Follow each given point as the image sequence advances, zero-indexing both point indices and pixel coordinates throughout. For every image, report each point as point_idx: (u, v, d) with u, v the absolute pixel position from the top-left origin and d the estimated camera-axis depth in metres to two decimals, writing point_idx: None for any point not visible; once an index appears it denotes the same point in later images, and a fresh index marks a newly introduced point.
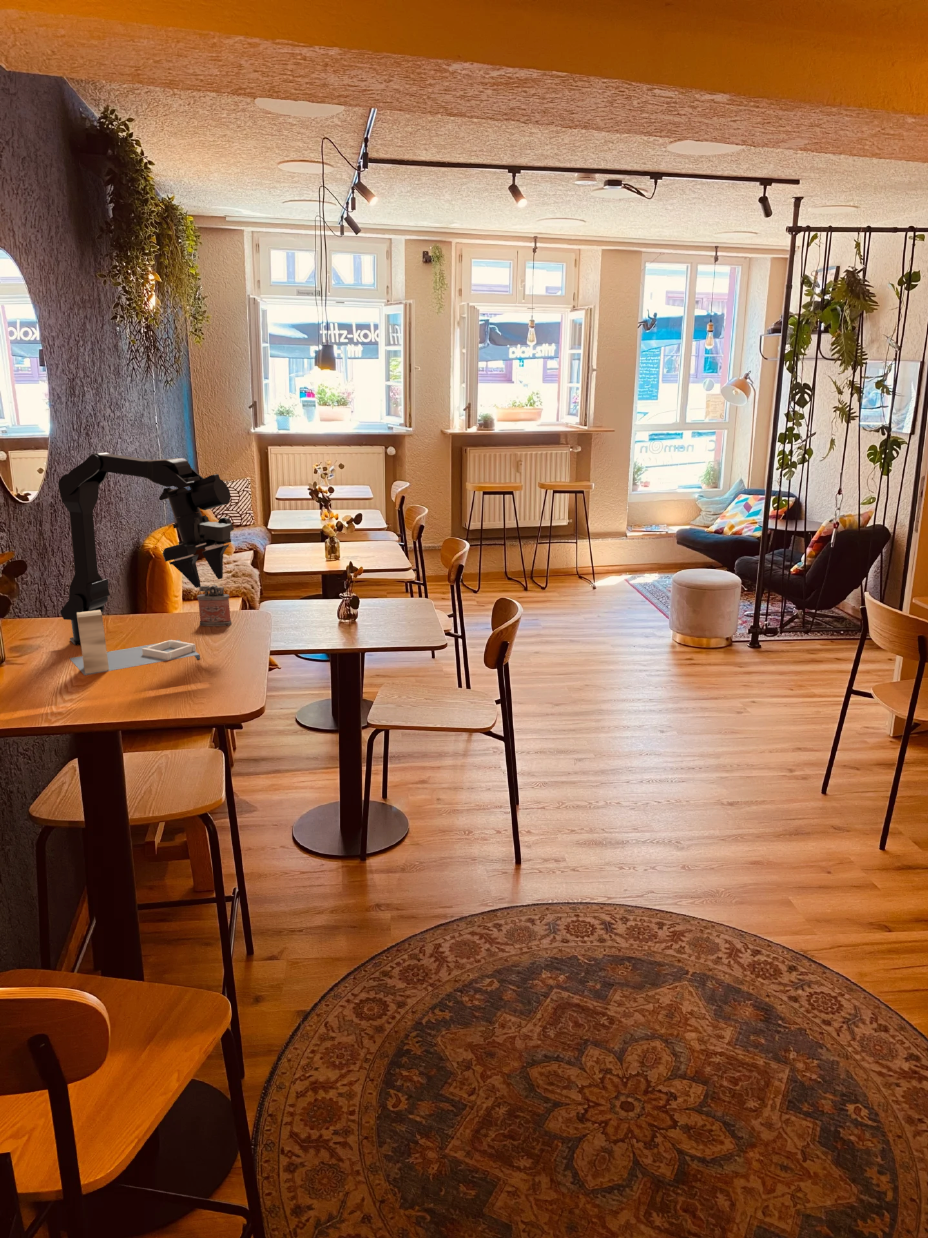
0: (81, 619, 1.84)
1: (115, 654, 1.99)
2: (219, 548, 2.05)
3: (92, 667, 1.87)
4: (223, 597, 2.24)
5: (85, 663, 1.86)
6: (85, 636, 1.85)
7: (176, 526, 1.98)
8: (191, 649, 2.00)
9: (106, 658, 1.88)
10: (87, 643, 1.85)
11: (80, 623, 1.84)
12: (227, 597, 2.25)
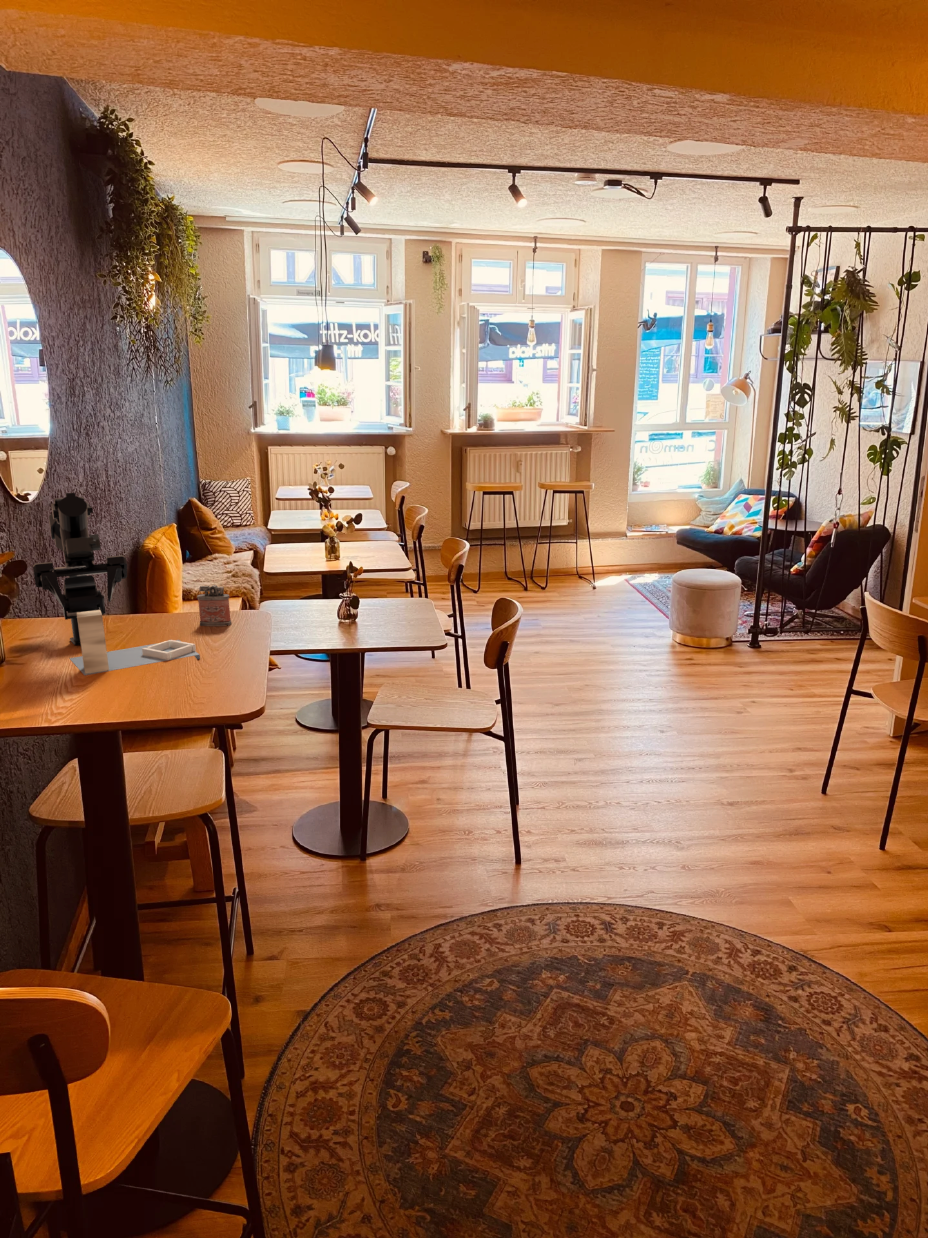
0: (81, 619, 1.84)
1: (115, 654, 1.99)
2: (107, 570, 1.97)
3: (92, 667, 1.87)
4: (223, 597, 2.24)
5: (85, 663, 1.86)
6: (85, 636, 1.85)
7: None
8: (191, 649, 2.00)
9: (106, 658, 1.88)
10: (87, 643, 1.85)
11: (80, 623, 1.84)
12: (227, 597, 2.25)
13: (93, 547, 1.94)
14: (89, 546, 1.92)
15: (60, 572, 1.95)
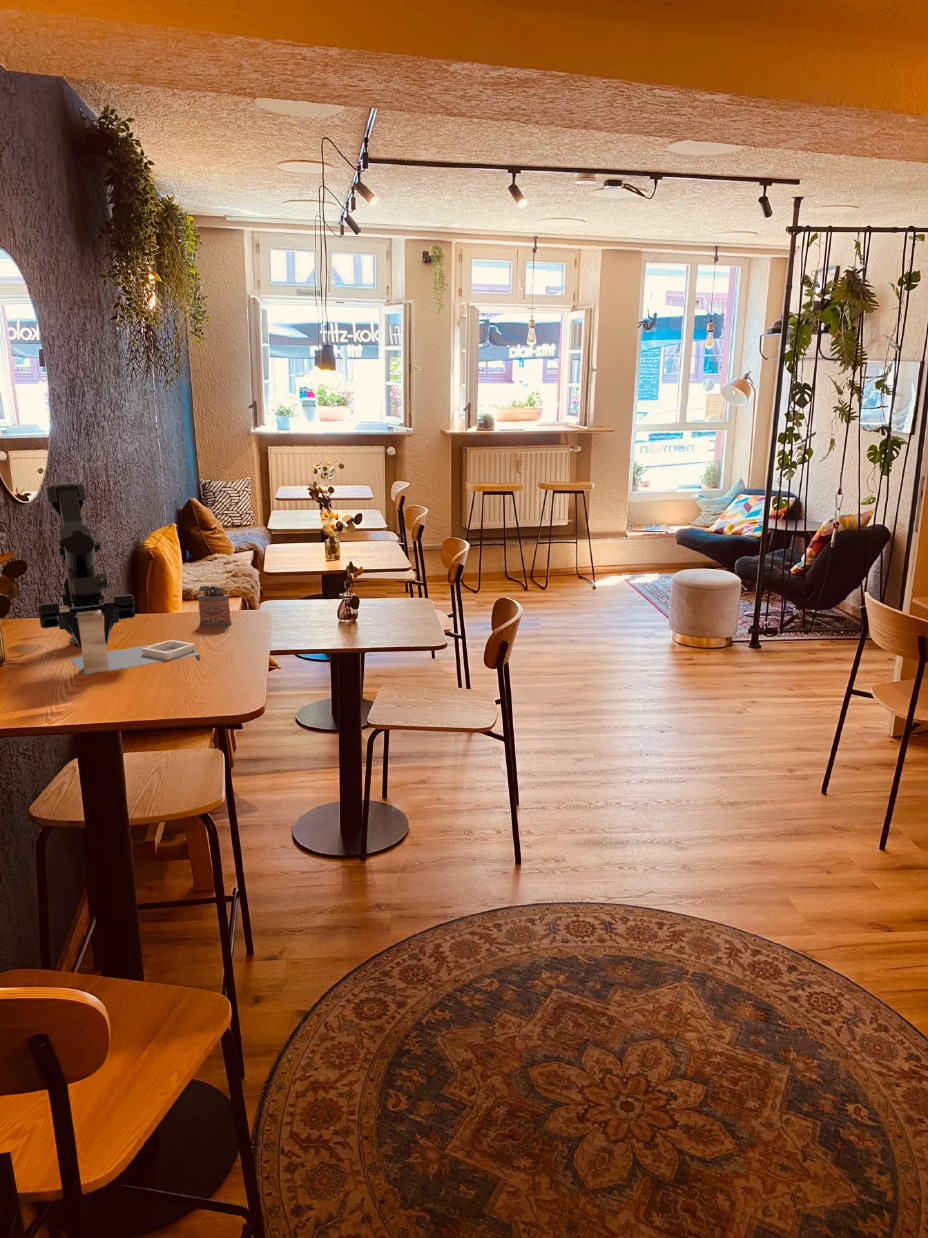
0: (81, 619, 1.84)
1: (115, 654, 1.99)
2: (104, 611, 1.90)
3: (92, 667, 1.87)
4: (223, 597, 2.24)
5: (85, 663, 1.86)
6: (85, 636, 1.85)
7: None
8: (191, 649, 2.00)
9: (106, 658, 1.88)
10: (87, 643, 1.85)
11: (80, 623, 1.84)
12: (227, 597, 2.25)
13: (100, 587, 1.87)
14: (96, 586, 1.86)
15: None
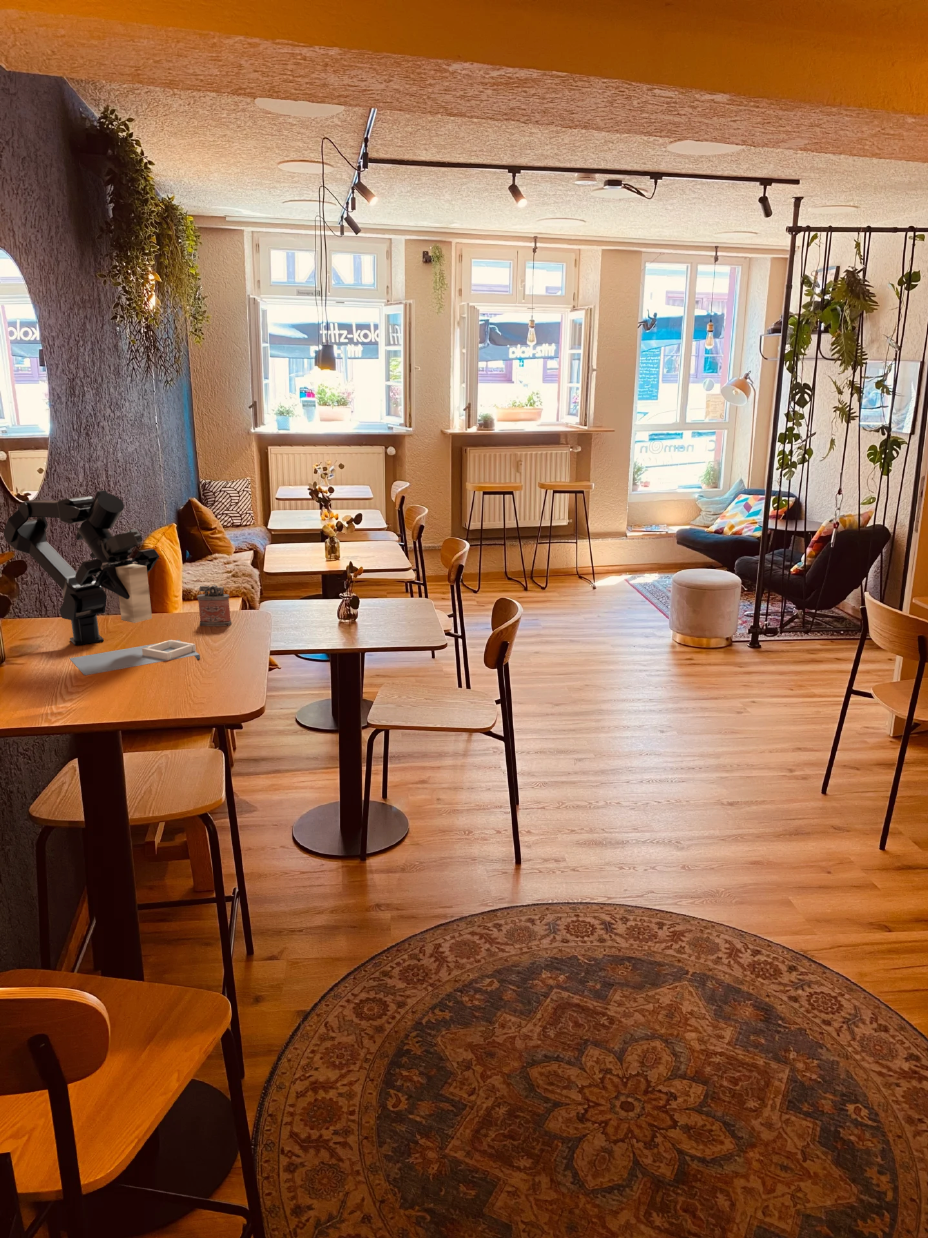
0: (131, 571, 1.96)
1: (115, 654, 1.99)
2: None
3: (140, 616, 2.00)
4: (223, 597, 2.24)
5: (134, 613, 1.99)
6: (134, 587, 1.98)
7: (92, 555, 2.02)
8: (191, 649, 2.00)
9: (149, 607, 2.02)
10: (135, 593, 1.98)
11: (130, 575, 1.96)
12: (227, 597, 2.25)
13: (137, 541, 2.00)
14: (136, 540, 1.99)
15: None
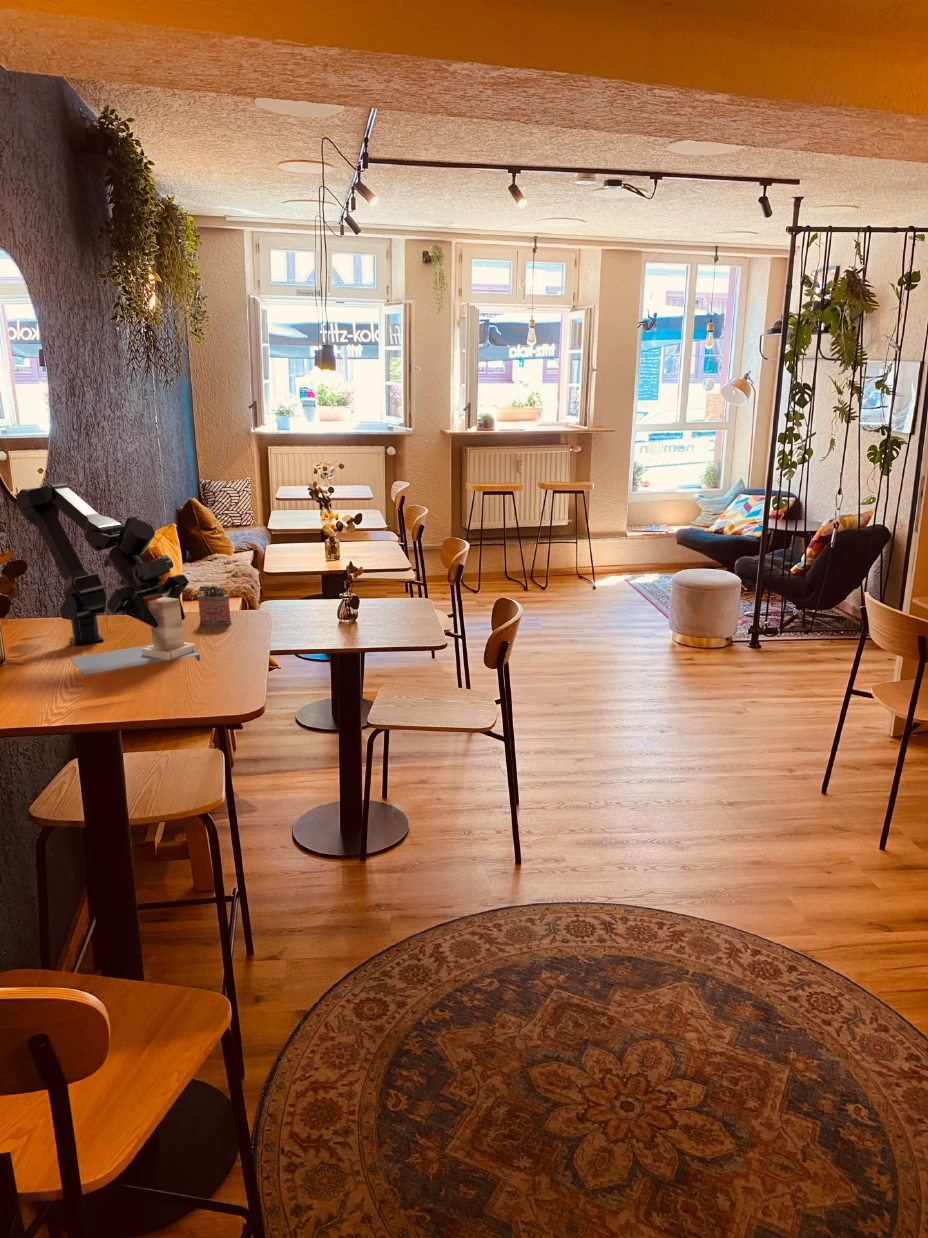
0: (165, 605, 1.95)
1: (115, 654, 1.99)
2: (172, 590, 2.01)
3: None
4: (223, 597, 2.24)
5: (168, 647, 1.97)
6: (168, 620, 1.96)
7: (122, 582, 1.99)
8: (191, 649, 2.00)
9: (182, 640, 2.00)
10: (169, 627, 1.96)
11: (164, 609, 1.95)
12: (227, 597, 2.25)
13: None
14: (168, 566, 1.97)
15: None
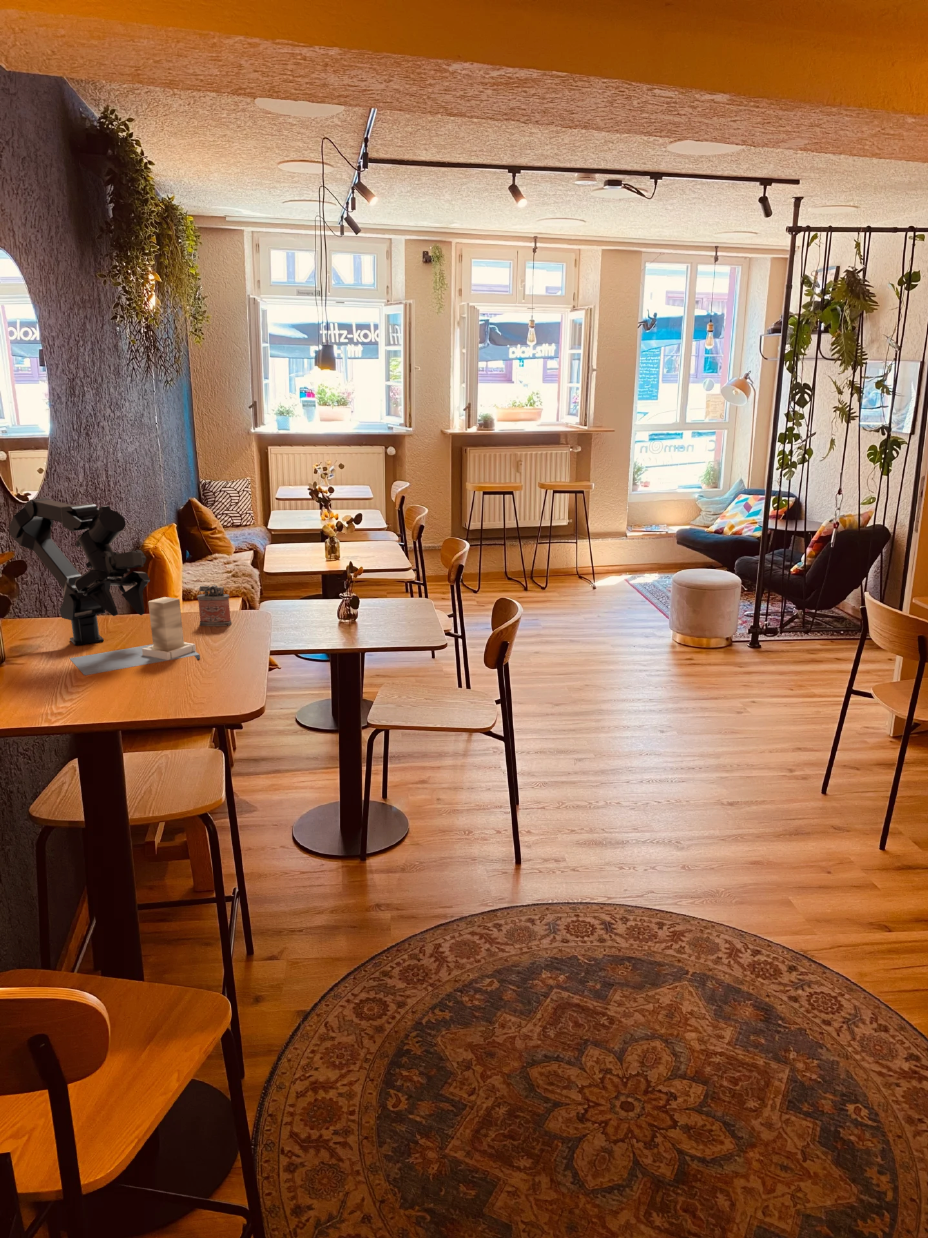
0: (165, 605, 1.95)
1: (115, 654, 1.99)
2: (137, 585, 2.06)
3: None
4: (223, 597, 2.24)
5: (168, 647, 1.97)
6: (168, 620, 1.96)
7: (89, 565, 2.01)
8: (191, 649, 2.00)
9: (182, 640, 2.00)
10: (169, 627, 1.96)
11: (164, 609, 1.95)
12: (227, 597, 2.25)
13: None
14: (142, 561, 2.02)
15: None
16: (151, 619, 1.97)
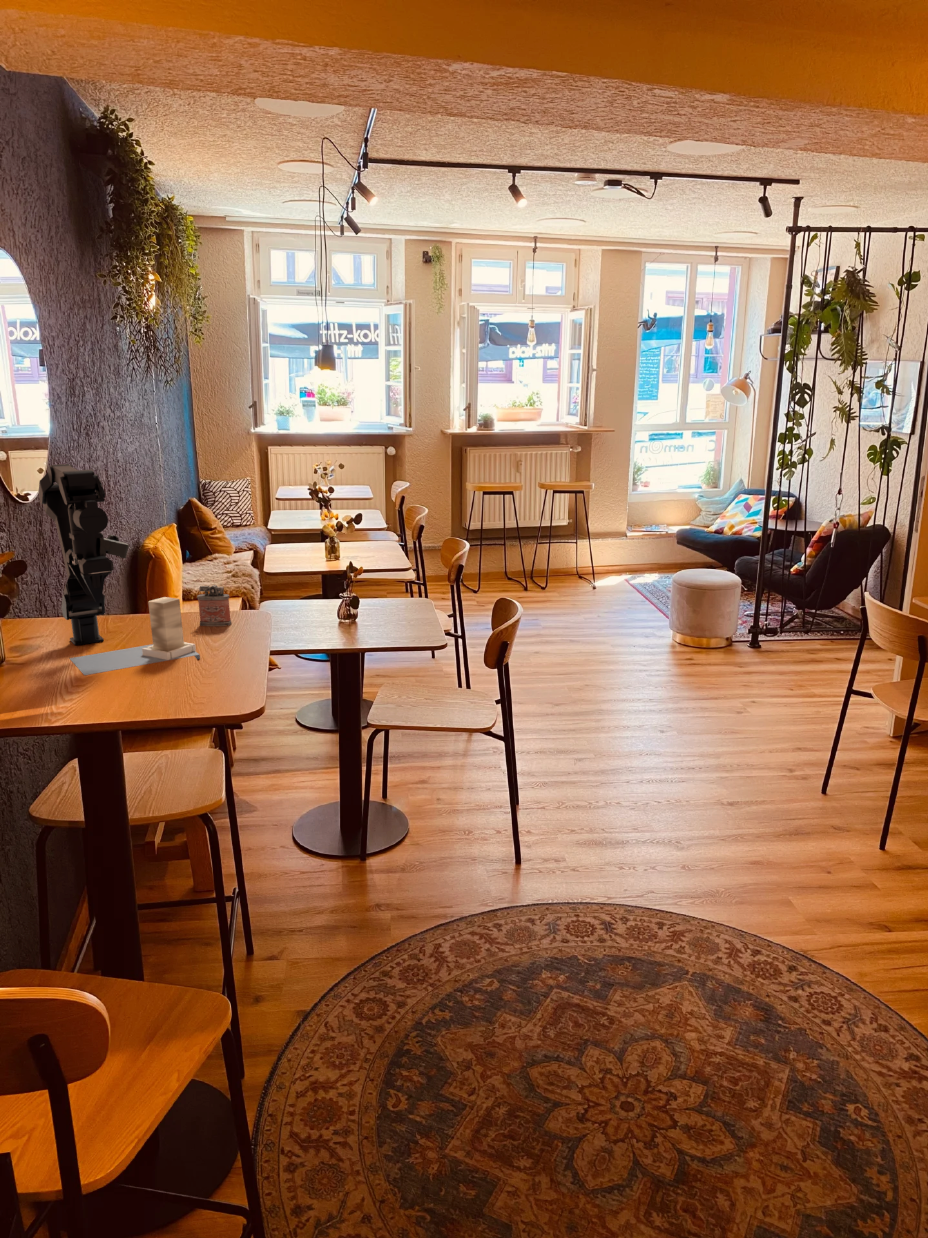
0: (165, 605, 1.95)
1: (115, 654, 1.99)
2: None
3: None
4: (223, 597, 2.24)
5: (168, 647, 1.97)
6: (168, 620, 1.96)
7: (78, 538, 1.94)
8: (191, 649, 2.00)
9: (182, 640, 2.00)
10: (169, 627, 1.96)
11: (164, 609, 1.95)
12: (227, 597, 2.25)
13: None
14: None
15: None
16: (151, 619, 1.97)
